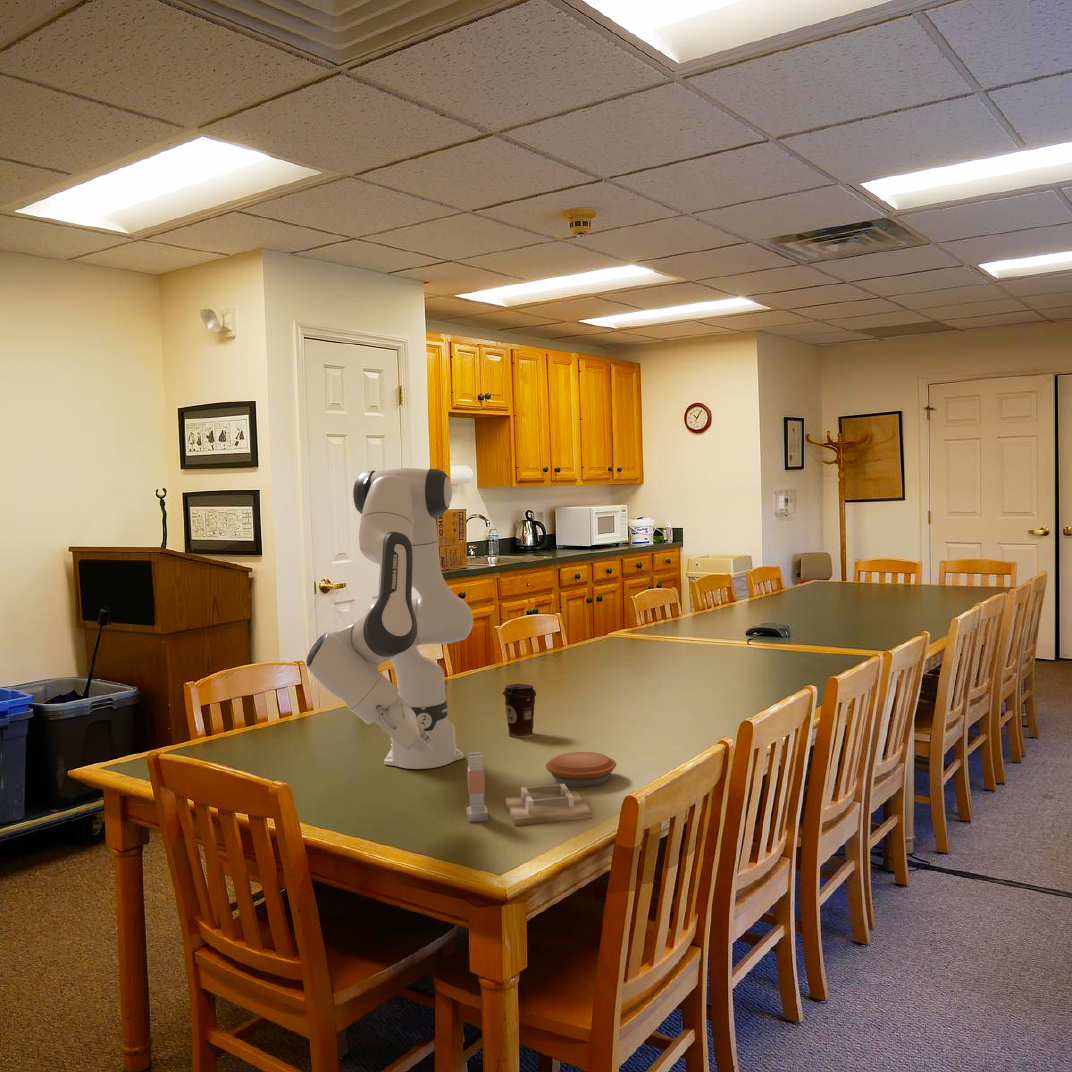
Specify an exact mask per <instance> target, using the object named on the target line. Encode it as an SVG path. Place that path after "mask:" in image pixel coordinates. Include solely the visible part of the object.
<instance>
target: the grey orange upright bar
mask: <svg viewBox="0 0 1072 1072" xmlns="http://www.w3.org/2000/svg"><path fill="white" fill-rule="evenodd" d="M483 758H484V757H483V755H482V752H481V751H475V752H467V766H466V773H467V774H466V775H467V776H466V777H467V790H468V801H469V806H466V809H465V811H466V816H467V820H468V823H471V822H474V823H475V822H484V821H489V811H488V808H487V805H485V794H486V784H485V783H486V780H485V778H486V777H485V769H484V760H483Z"/></svg>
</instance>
